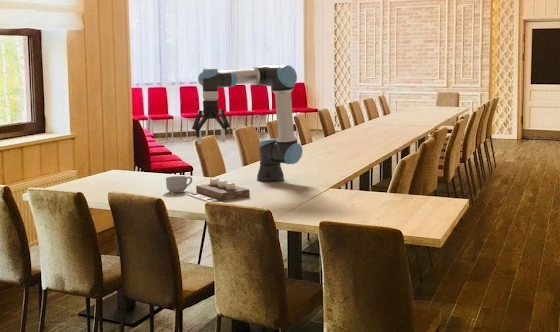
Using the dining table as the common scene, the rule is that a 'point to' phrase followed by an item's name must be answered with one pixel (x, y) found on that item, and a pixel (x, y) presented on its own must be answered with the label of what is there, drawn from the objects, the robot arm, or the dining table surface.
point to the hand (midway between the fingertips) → (211, 143)
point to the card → (202, 197)
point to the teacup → (177, 183)
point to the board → (222, 192)
